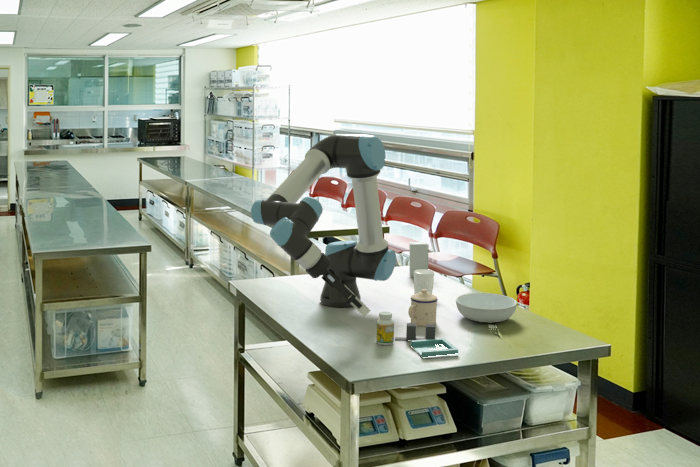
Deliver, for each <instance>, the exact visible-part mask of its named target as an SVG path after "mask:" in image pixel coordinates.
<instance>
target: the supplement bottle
mask: <svg viewBox="0 0 700 467" xmlns="http://www.w3.org/2000/svg"><path fill="white" fill-rule="evenodd" d="M378 317H379V318H378V319H377V321H376V343H377V344H378V345H380V346H391V344H392V345H393V344H394V343H395V321H394V319H392V318H393V313H392V312H390V311H380V312H379V313H378Z"/></svg>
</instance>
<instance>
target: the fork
mask: <svg viewBox="0 0 700 467" xmlns="http://www.w3.org/2000/svg"><path fill="white" fill-rule="evenodd" d="M494 325H495V326H494ZM489 328H491V329H492V328H493V329H494V328H495V329H496V328H498V327H497V325H496V324H488V329H489Z"/></svg>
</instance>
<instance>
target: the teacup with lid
mask: <svg viewBox="0 0 700 467" xmlns="http://www.w3.org/2000/svg"><path fill="white" fill-rule="evenodd" d="M410 300H411V301H410V304H411V305H410V306H409V307H408V316H409V318H410V323H416V326H419V327H426V324H435V325H436V323H437V309H438V308H437V305H438V304H437V302H438V297H437V295H435V294H433V293H432V294H430V293H429V292H427V290H426V289H422V290H421V292H419V293H417V294H412V295H411V296H410Z"/></svg>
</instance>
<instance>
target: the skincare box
mask: <svg viewBox="0 0 700 467" xmlns="http://www.w3.org/2000/svg"><path fill="white" fill-rule="evenodd" d="M419 269H426V270H429V242H428V241H409V276H410V277H409V278H414V271H415V270H419Z"/></svg>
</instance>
